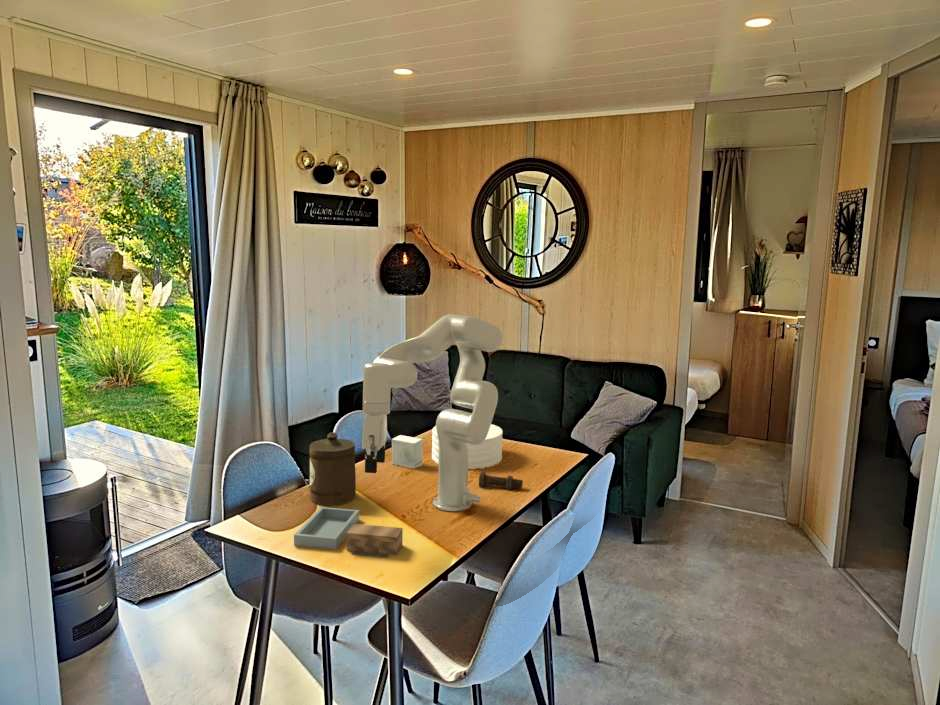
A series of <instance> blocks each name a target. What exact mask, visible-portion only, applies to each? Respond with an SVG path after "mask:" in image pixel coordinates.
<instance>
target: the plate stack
mask: <svg viewBox="0 0 940 705" xmlns="http://www.w3.org/2000/svg"><path fill="white" fill-rule="evenodd" d="M431 433H432V435H431V440H432V441H431V446H432V447H431V460H432V461H433V460H434V461H435V462H434V461H433V462H434V463H436V464H438V465H439V442H438V435H437V430H436V425H434V427H433V428H432V430H431ZM503 434H504V433H503V429H502V428H501V427H500V426H498V425H495V424H492V423H491V425H490V428H489V431H488V434H487V436H486V438H485V440H484V441H483V442H482V443H481V444H478V445H473V444H469V443H466V445H467V449H468V470H477V469H476V468H480V469H486V468H485V467H487V468H491V467H494V466H496V465H498V464H500V463H501V462H502V460H503V459H502V458H503V456H502V454H503ZM501 459H502V460H501ZM500 461H501V462H500ZM499 462H500V463H499ZM497 463H498V464H497ZM495 464H496V465H495ZM493 465H494V466H493ZM490 466H491V467H490Z"/></svg>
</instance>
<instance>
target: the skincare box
mask: <svg viewBox="0 0 940 705" xmlns="http://www.w3.org/2000/svg"><path fill="white" fill-rule="evenodd" d="M423 446H424V440H423V438H419V437H413V436H407V435H403V434H400V435H397V436H395V437H393V438H391V465H392V464H394V465H393V466H397V465H399V466H398V467H401V466H404V467H403V468H406V467H408V468H407V469H411V468H413V469H412V470H415V468H416V469H418V468H419V467H422V466H423V457H424V454H423V451H424V450H423ZM417 467H418V468H417Z"/></svg>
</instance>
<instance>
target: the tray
mask: <svg viewBox="0 0 940 705" xmlns="http://www.w3.org/2000/svg"><path fill="white" fill-rule="evenodd" d="M359 521H360V510H359V509H352V508H351V509H350V508H349V509H348V508H339V507H337V508H335V507H325V506H321V507H320V508H319V509H318V510H316V512H315V513H314V514H313V515H312V516H311V517H310V518H309V519H308V520H307V521H306V522H305V523H304V524H303V525H302V526H301V527H300V528H299V529H298V530H297V531H296V532H295V533H294V535H293V546H294V547H295V546H296V547H297V546H298V547H308V548H317V549H318V548H319V549H320V548H321V549H328V550H337V548H339V546H340V545H341V544H342V542H344V540H345V539H346V538H347V534H346V533H347V532H348V530H349V529H350V528H351V527H352V525H353V524H358V522H359Z"/></svg>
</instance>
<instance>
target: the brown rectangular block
mask: <svg viewBox="0 0 940 705" xmlns="http://www.w3.org/2000/svg"><path fill="white" fill-rule="evenodd" d="M403 531H404V530H403V527H397V526H396V527H395V526H394V527H393V526H382V525H375V524H374V525H373V524H372V525H370V524H361V523H360V524H359V523H356V524H353V525H352V527H351V528H350V529H349V530H348V532H347V533H346V534H347V536H346V551H352V552H353V551H360V552H371V553H382V554H389V555H394V556H397V555H398V553H399V552H400V550H401V549H402V546H403Z"/></svg>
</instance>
